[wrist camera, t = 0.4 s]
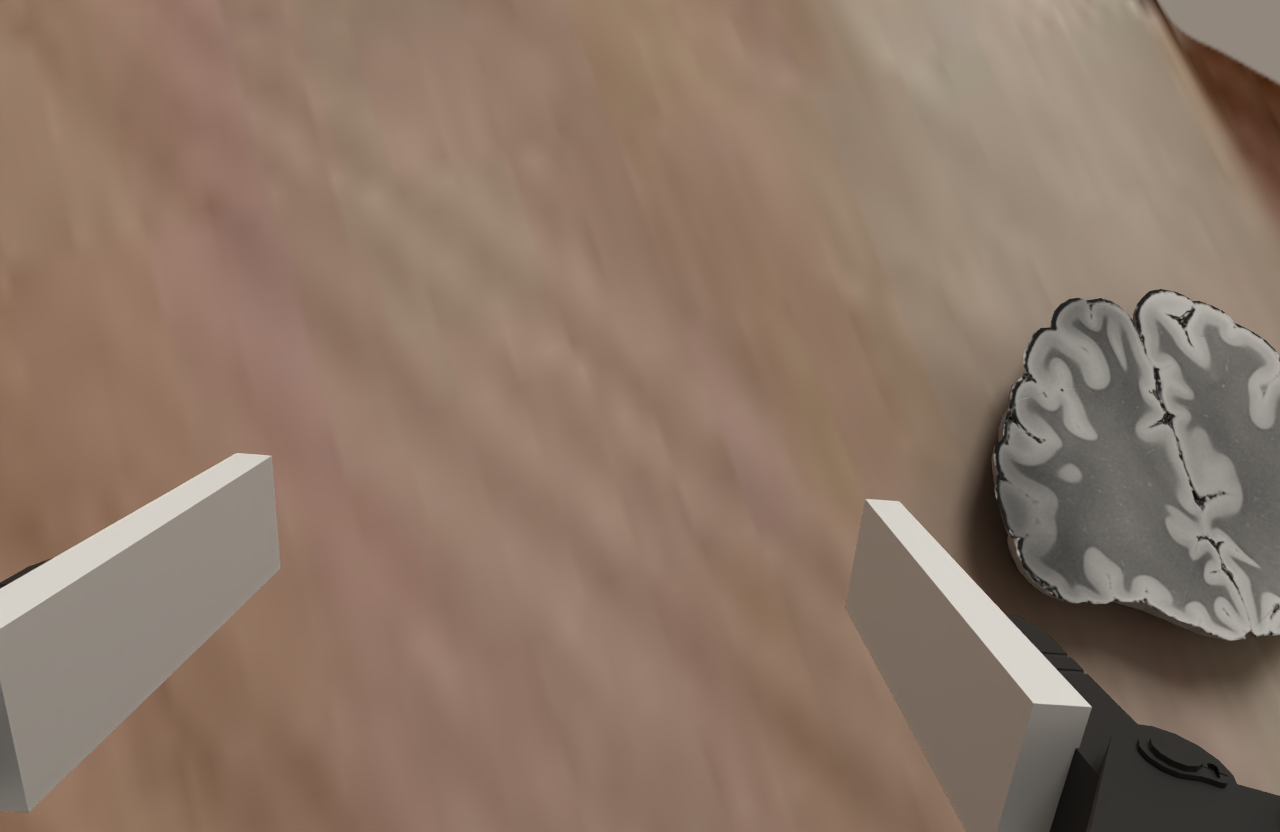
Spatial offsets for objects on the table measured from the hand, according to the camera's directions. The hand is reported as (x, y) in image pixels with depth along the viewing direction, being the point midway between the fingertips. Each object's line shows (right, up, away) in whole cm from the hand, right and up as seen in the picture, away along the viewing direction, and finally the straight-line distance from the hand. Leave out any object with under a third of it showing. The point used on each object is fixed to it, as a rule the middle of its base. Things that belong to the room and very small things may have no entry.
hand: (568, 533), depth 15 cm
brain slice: (+27, 0, +20) cm, 34 cm away
